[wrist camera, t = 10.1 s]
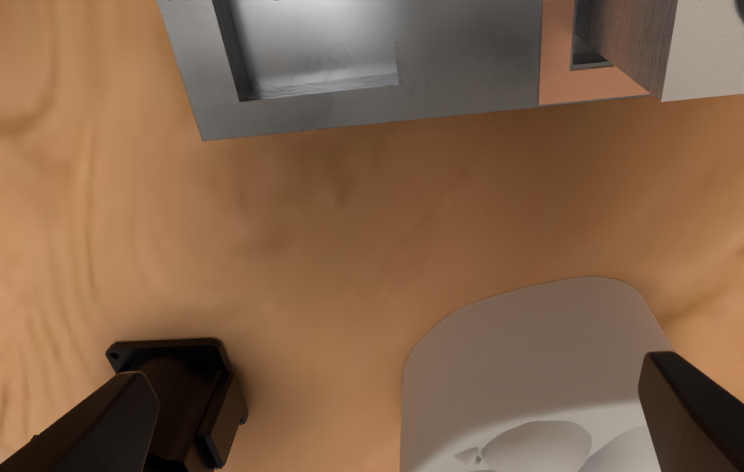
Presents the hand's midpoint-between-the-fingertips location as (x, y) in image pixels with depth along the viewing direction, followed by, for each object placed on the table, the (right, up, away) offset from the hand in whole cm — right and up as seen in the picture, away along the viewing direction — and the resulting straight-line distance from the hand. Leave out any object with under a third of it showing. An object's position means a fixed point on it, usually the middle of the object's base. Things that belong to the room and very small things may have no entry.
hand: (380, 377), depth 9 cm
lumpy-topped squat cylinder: (+8, -4, +18) cm, 20 cm away
